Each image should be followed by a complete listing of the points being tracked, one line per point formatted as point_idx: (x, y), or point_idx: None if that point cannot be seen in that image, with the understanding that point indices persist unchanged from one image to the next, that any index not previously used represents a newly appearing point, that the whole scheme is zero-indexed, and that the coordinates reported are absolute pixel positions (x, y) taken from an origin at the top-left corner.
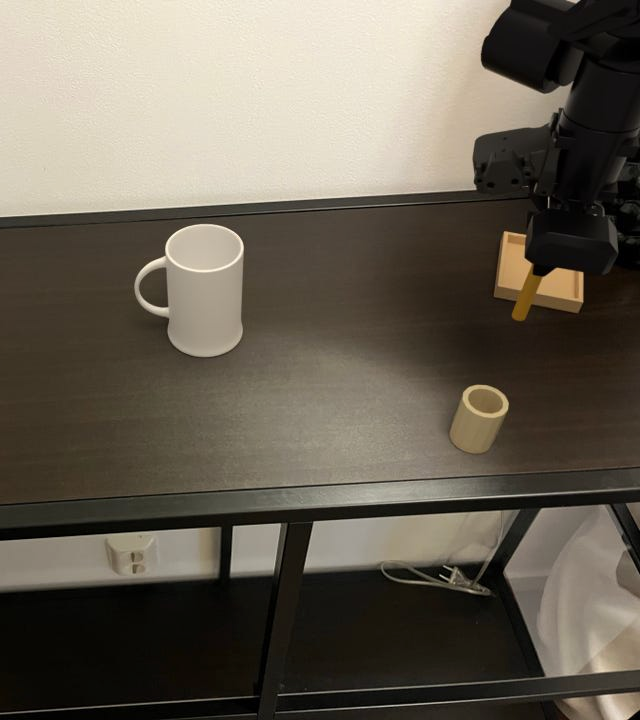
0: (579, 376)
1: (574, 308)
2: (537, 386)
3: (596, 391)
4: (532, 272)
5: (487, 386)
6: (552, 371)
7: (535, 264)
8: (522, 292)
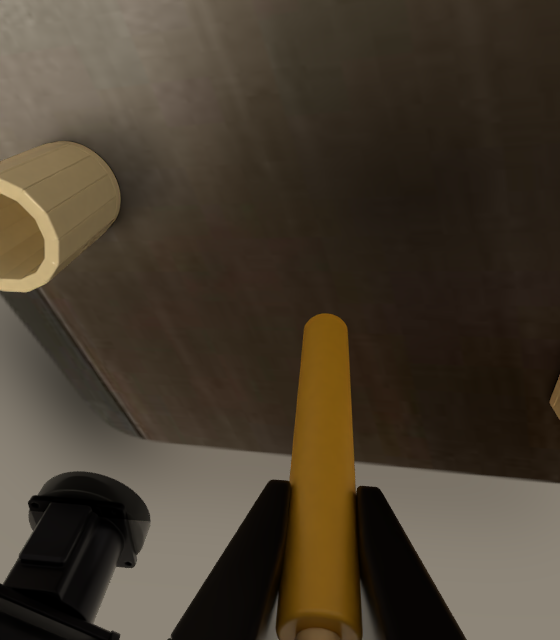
0: None
1: (557, 401)
2: (286, 320)
3: None
4: (269, 486)
5: (52, 240)
6: None
7: (230, 543)
8: (311, 385)
